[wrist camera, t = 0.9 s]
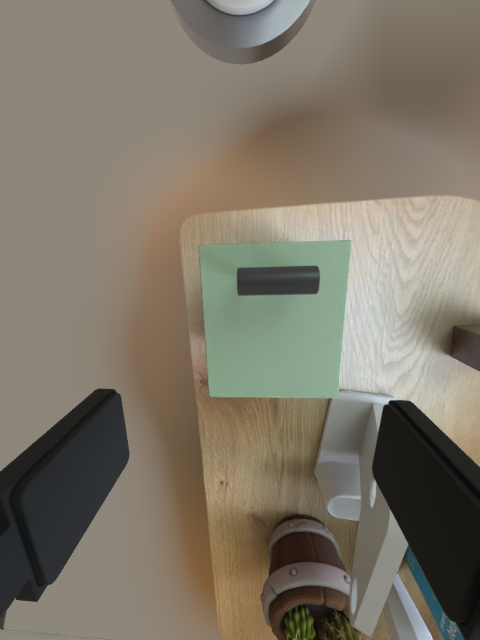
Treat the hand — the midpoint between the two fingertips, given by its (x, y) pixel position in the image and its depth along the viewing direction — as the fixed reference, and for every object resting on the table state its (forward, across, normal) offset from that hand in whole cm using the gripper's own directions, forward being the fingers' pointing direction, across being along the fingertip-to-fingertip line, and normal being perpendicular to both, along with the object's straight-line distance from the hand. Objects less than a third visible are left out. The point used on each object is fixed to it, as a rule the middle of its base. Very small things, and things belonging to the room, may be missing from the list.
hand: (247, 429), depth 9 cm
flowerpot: (+26, -9, +44) cm, 51 cm away
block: (+26, -30, +5) cm, 40 cm away
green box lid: (+13, -2, 0) cm, 13 cm away
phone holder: (+26, -16, +23) cm, 38 cm away
